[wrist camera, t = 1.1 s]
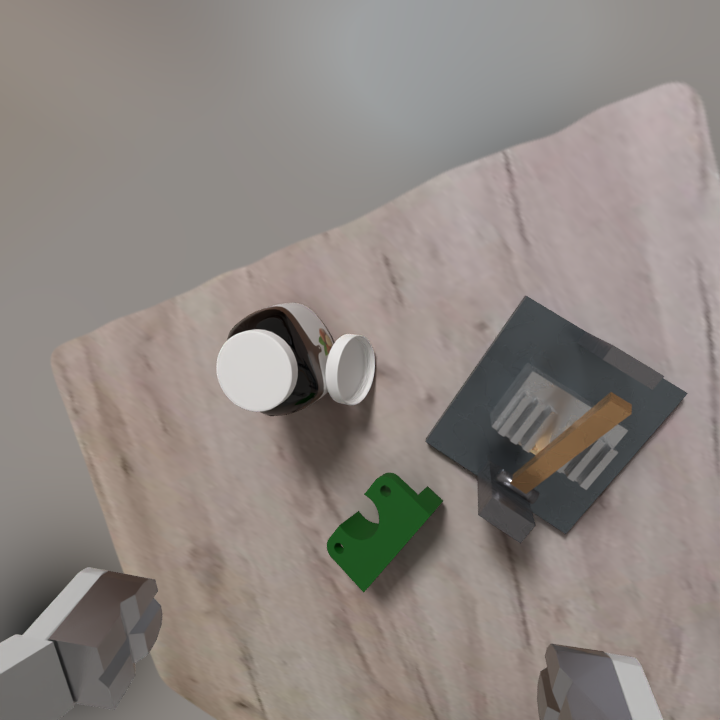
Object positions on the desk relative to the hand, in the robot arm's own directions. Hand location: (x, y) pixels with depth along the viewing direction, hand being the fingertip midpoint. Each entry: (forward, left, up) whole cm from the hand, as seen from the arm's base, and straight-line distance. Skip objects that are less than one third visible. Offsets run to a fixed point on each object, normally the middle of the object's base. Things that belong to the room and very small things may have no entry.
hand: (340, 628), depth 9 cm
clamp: (-5, +18, -38) cm, 42 cm away
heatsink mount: (-11, 0, -37) cm, 39 cm away
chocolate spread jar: (+11, +7, -38) cm, 40 cm away
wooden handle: (-11, 0, -29) cm, 31 cm away
